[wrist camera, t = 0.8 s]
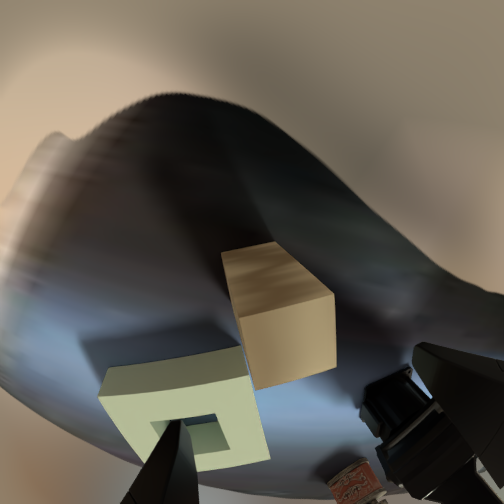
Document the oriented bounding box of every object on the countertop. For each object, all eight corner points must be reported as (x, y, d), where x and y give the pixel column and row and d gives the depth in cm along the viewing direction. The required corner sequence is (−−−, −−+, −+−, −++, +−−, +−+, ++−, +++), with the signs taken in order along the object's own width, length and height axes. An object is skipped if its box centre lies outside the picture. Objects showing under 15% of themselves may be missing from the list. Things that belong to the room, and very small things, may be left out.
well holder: (240, 345, 23) (249, 374, 19) (262, 430, 26) (270, 458, 22) (108, 367, 21) (97, 396, 17) (155, 447, 25) (154, 474, 21)
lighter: (335, 485, 34) (356, 527, 24) (322, 484, 33) (343, 530, 23) (370, 458, 33) (397, 501, 23) (359, 457, 32) (386, 503, 22)
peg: (274, 241, 21) (334, 294, 11) (282, 290, 22) (336, 367, 13) (220, 252, 20) (239, 318, 11) (231, 302, 22) (255, 390, 12)
